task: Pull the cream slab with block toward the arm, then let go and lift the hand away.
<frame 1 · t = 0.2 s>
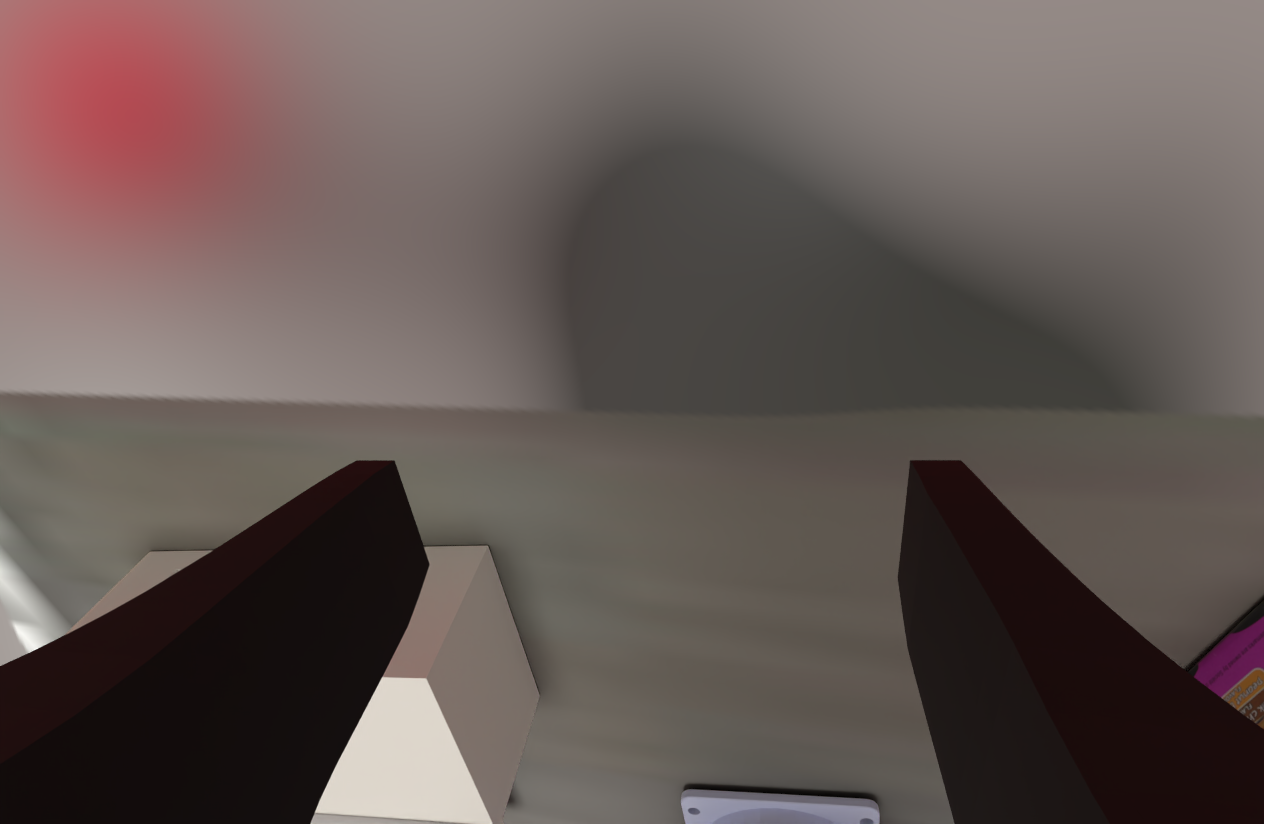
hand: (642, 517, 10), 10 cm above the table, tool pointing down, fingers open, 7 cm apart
cream slab with block: (347, 793, 28), point 4 cm above the table, slide at 0.0 cm
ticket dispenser: (348, 625, 29), on the table
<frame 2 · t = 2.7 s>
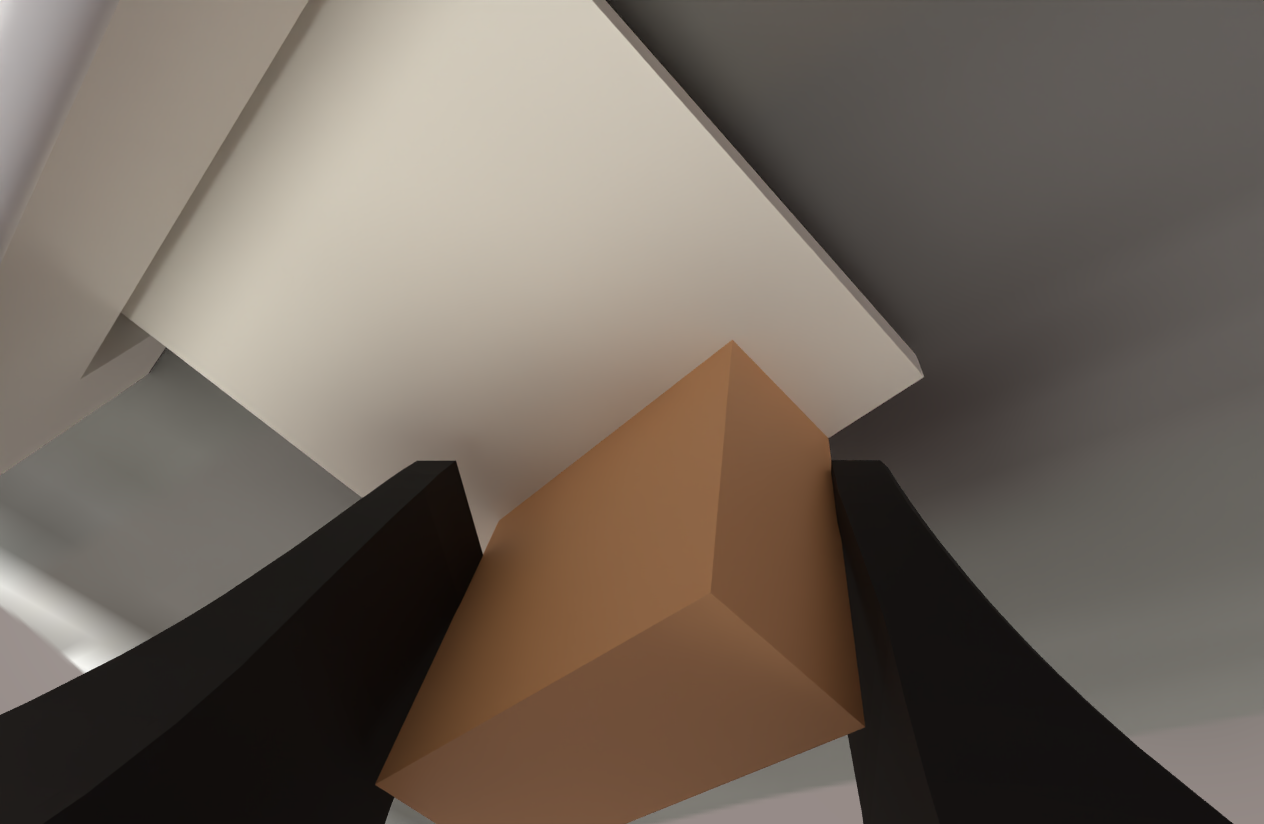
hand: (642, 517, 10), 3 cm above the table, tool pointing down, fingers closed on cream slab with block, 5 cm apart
cream slab with block: (227, 237, 8), point 4 cm above the table, slide at 0.0 cm, touching gripper
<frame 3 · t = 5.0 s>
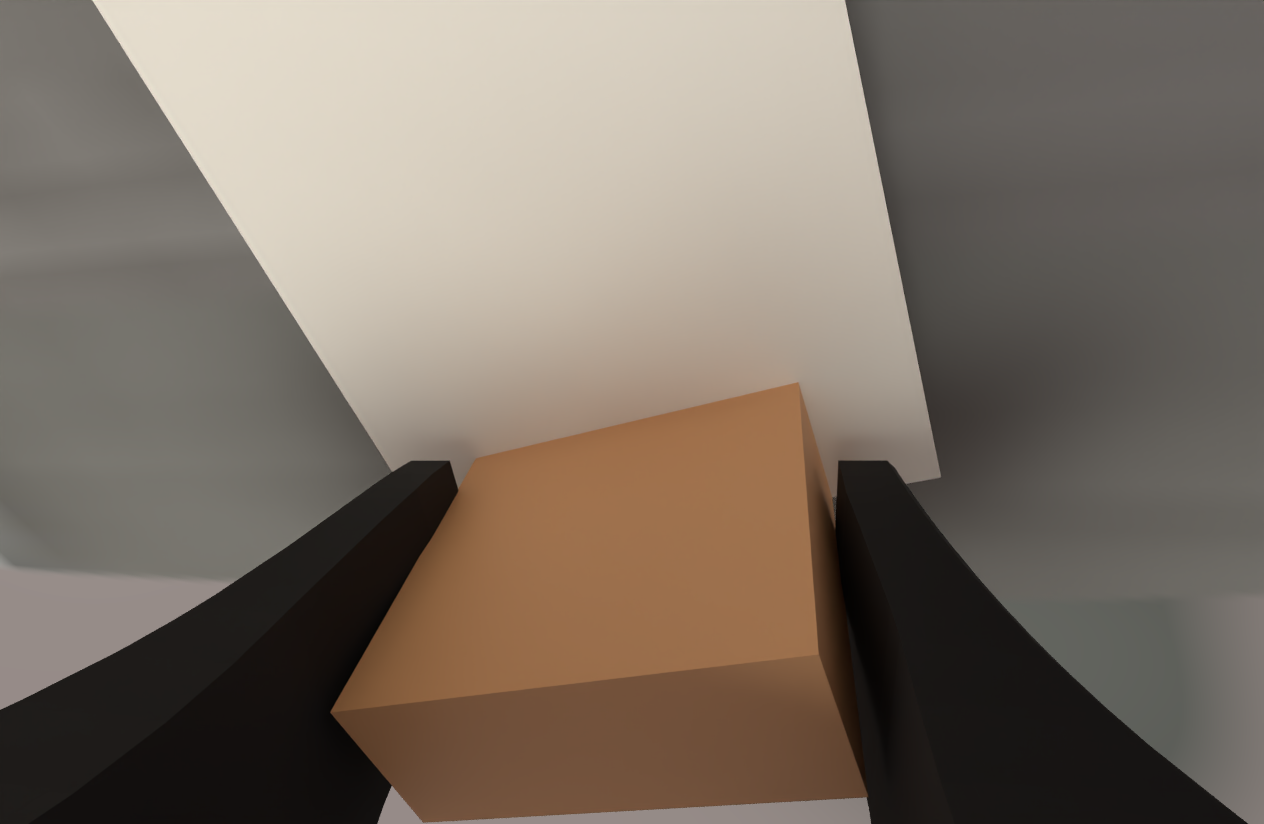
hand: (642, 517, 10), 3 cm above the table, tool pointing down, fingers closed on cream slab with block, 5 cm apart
cream slab with block: (394, 88, 7), point 4 cm above the table, slide at 6.9 cm, touching gripper
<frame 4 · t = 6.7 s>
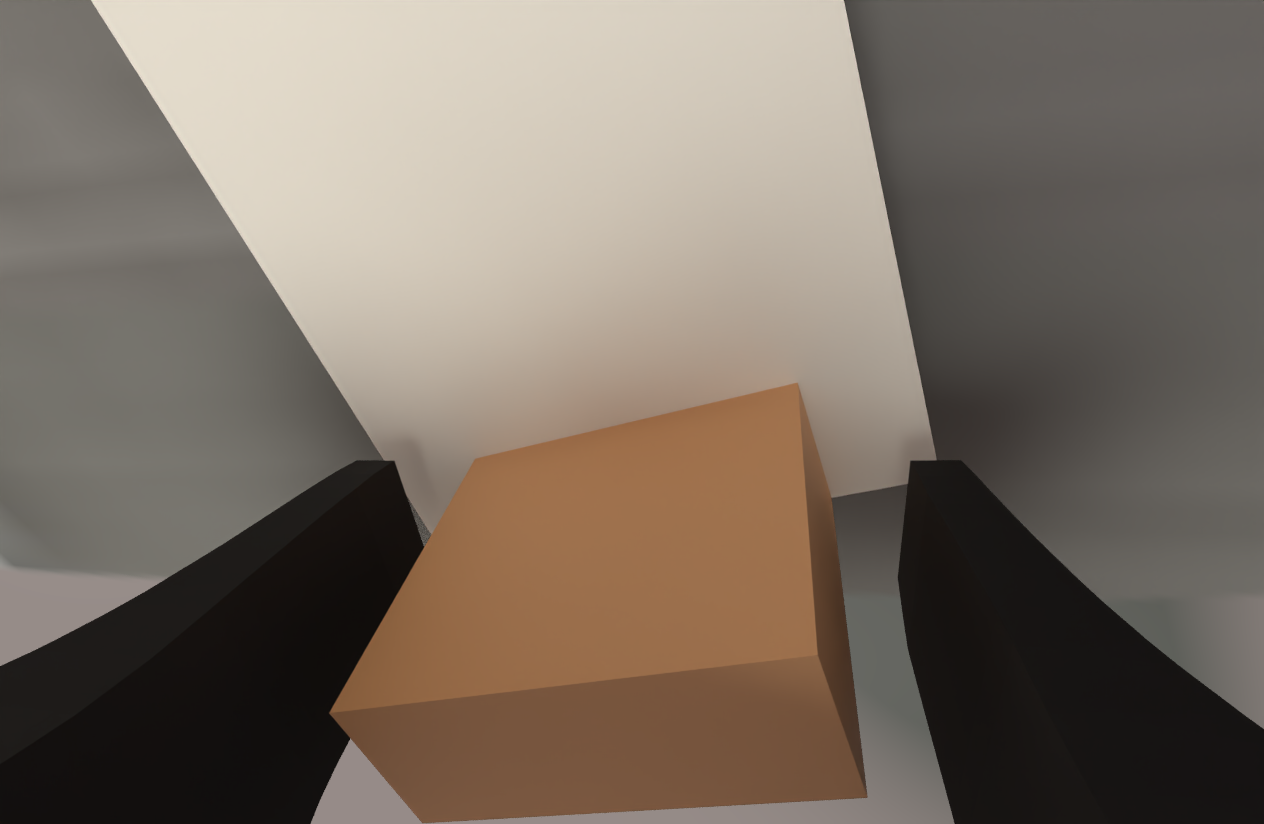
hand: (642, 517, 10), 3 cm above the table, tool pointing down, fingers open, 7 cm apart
cream slab with block: (393, 89, 7), point 4 cm above the table, slide at 6.9 cm
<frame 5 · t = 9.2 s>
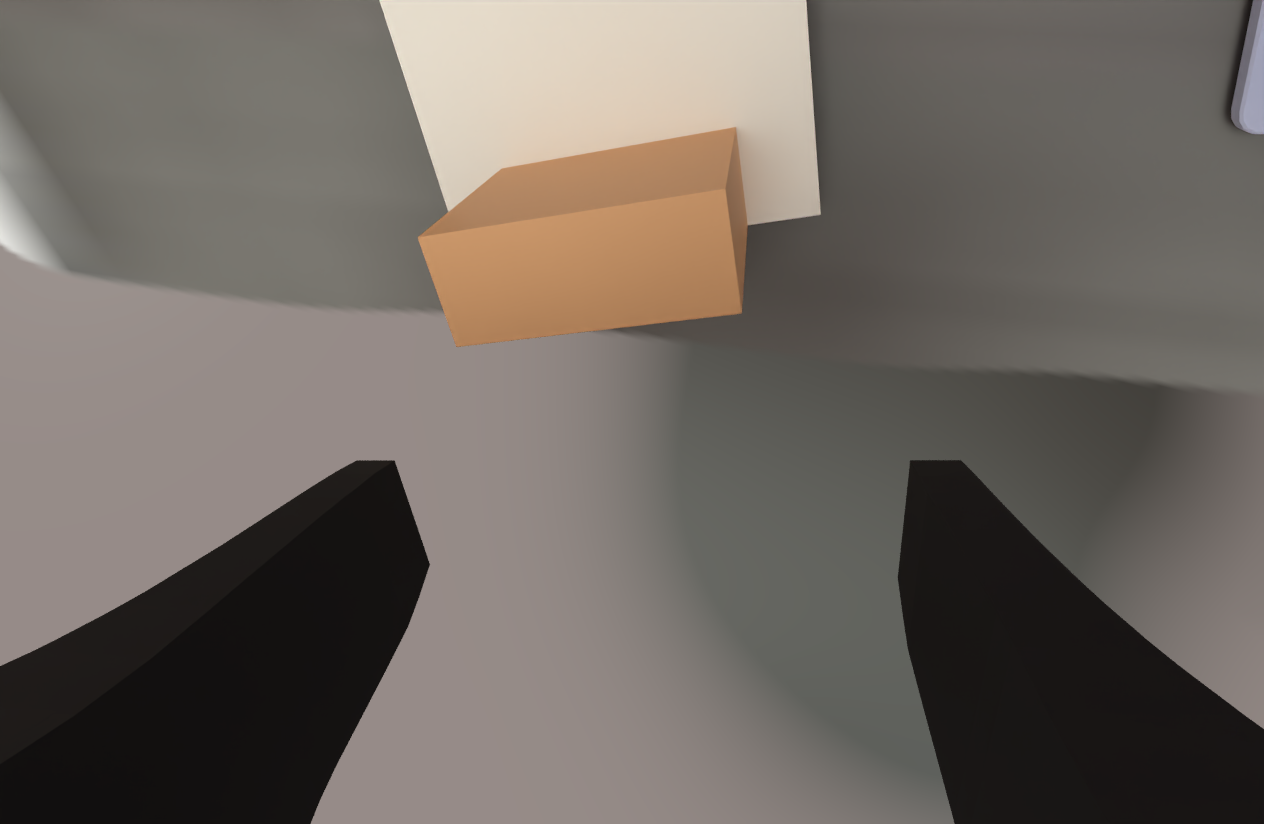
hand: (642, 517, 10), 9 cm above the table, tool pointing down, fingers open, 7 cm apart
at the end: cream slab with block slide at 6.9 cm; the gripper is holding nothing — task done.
